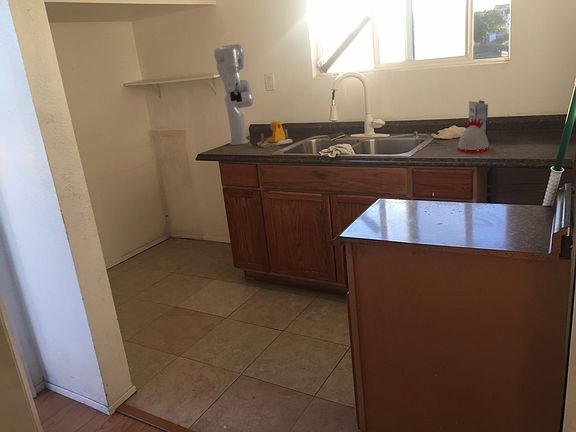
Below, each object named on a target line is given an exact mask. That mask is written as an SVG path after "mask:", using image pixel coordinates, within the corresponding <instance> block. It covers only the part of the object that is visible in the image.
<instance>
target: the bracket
mask: <svg viewBox="0 0 576 432" xmlns="http://www.w3.org/2000/svg"><path fill="white" fill-rule="evenodd" d="M269 129H270V130H271V131H272V134H271V135H272V136H269V137H267V138H265V141H266V142H277V143H278V142H281V141H283V139H285V133H284V128H283V126H282V123H281V121H271V122H270V125H269Z"/></svg>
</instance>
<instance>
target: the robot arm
mask: <svg viewBox="0 0 576 432" xmlns="http://www.w3.org/2000/svg"><path fill="white" fill-rule="evenodd" d="M213 53H214V54H213V55H214V56H213V57H214V60H215V62H216V70H217V73H218V75H219V77H220V79H221V80H222V82H223V87H224V91H225V96H224V104H225V107H226V110H227V117H228V125H229V130H230V131H229V132H230V139H231V141H230V142H229V145H232V146H238V145H239V146H240V145H245V144H248V143H249V142H250V140H249V139H248V138H247V133H246V126H245V118H244V114H243V112H242V111H241V110H240V109H241V108H247V107H248V108H249V107H252V106H253V103H254V99H253V98H254V97H253V93H252V89H251V85H250V84H249V81H248V80H246V79H240V75H239V74H240V71H242V70H243V69H244V65H245V64H244V63H245V62H244V61H245V60H244V59H245V58H244V55H245V54H244V50H243V47H242V45H240V44H229V45H228V44H227V45H223V46H222V47H218V48H215V49H214V51H213Z"/></svg>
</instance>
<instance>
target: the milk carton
mask: <svg viewBox="0 0 576 432" xmlns="http://www.w3.org/2000/svg"><path fill="white" fill-rule="evenodd" d="M488 110H489V104H488V103H487V104H486V101H484V100H481V99H480V100H478V101H475V100H474V101H471V100H469V101H468V121H470V122H471V120H472V118H473V121H475V119H476V120H477V123H478V120H479V119H480V124H481V123H482V122H483V124H482V126H481V129H483V131H484V132H485V134H486V136H487V137H488V114H489V113H488V112H489V111H488Z"/></svg>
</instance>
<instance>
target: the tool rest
mask: <svg viewBox="0 0 576 432" xmlns="http://www.w3.org/2000/svg"><path fill="white" fill-rule="evenodd" d="M283 131H284V134H285V139H283V141H281V142H278V143H277V142H266V140H265V137H264V132H263V133H260V134H259V135H260V142H257V146H260V147H262V148H268V147H273V146H279V145H284V144H291V143H293V139H292V138H291V139H290V138H289V137H288V129H287V128H285V129H284V128H283Z"/></svg>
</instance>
